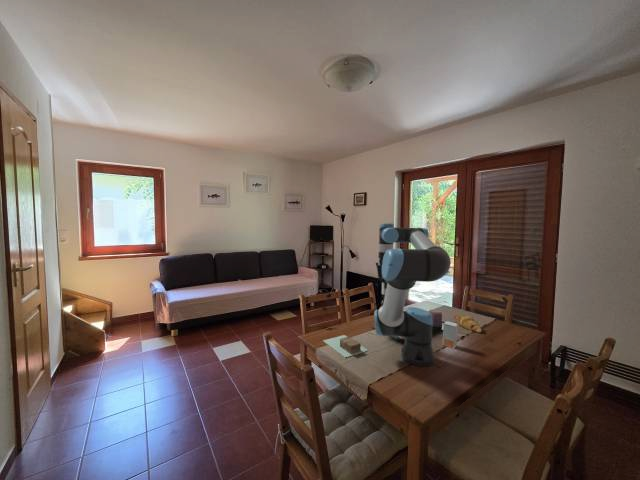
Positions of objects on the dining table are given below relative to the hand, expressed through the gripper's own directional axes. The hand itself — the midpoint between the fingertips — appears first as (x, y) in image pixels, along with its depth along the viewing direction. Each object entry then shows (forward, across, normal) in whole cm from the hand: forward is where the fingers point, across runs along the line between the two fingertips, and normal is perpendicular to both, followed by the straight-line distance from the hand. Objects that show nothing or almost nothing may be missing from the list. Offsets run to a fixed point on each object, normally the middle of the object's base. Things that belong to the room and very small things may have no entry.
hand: (384, 294), depth 148 cm
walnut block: (+22, +2, +25) cm, 33 cm away
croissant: (+25, -15, -56) cm, 63 cm away
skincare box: (+25, -25, -23) cm, 42 cm away
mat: (+24, +2, +25) cm, 35 cm away
